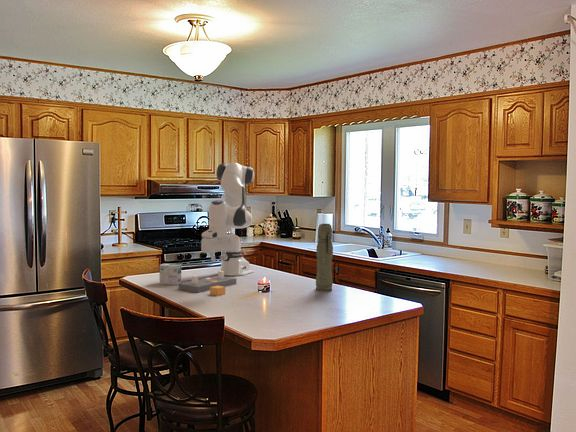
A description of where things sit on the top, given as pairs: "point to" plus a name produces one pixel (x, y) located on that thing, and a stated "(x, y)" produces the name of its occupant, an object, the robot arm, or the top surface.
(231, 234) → the robot arm
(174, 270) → the light bulb box
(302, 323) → the top surface
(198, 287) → the breaker panel
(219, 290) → the lockout cap
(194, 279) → the outer breaker
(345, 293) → the top surface
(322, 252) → the thermos
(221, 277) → the inner breaker
